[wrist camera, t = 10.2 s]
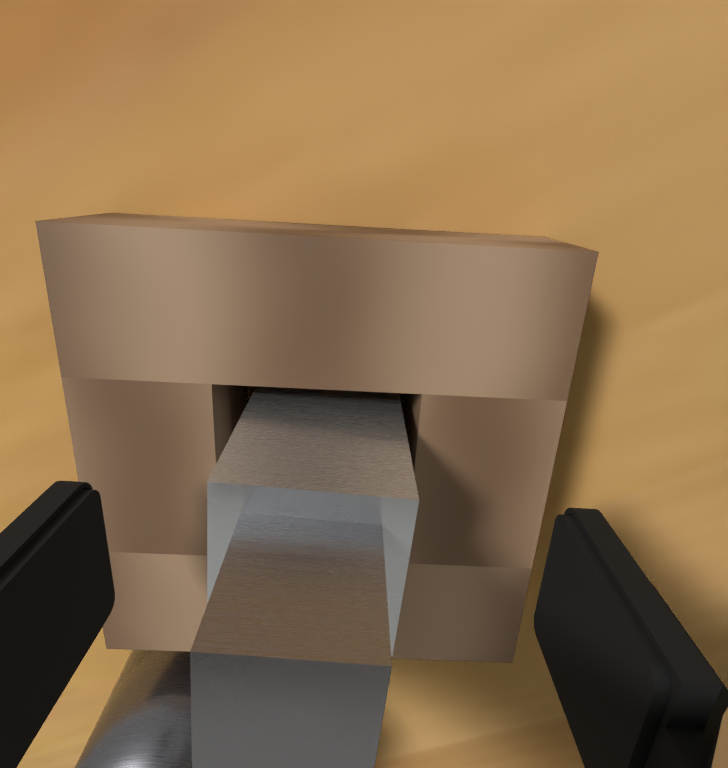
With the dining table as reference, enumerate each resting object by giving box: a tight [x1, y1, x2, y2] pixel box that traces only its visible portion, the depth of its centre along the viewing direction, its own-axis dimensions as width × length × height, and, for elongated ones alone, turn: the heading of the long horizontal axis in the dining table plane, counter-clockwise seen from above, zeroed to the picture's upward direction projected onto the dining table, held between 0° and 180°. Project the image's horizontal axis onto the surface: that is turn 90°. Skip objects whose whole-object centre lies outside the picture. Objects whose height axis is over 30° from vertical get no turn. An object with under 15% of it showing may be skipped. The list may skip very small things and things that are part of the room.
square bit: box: [190, 386, 419, 768], centre depth 12 cm, size 4×4×10 cm
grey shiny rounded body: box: [75, 650, 192, 768], centre depth 17 cm, size 6×6×7 cm
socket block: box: [36, 213, 599, 663], centre depth 15 cm, size 12×12×4 cm
